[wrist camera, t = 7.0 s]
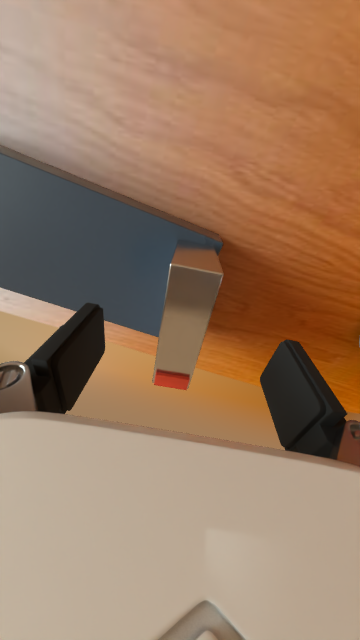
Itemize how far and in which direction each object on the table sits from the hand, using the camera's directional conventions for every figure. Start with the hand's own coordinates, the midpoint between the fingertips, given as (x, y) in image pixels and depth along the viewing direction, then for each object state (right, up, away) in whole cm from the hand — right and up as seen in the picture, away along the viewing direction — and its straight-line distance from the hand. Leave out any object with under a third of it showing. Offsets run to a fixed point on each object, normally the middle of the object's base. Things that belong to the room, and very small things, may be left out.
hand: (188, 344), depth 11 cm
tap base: (-7, +7, +6) cm, 12 cm away
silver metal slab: (0, +3, +4) cm, 5 cm away
